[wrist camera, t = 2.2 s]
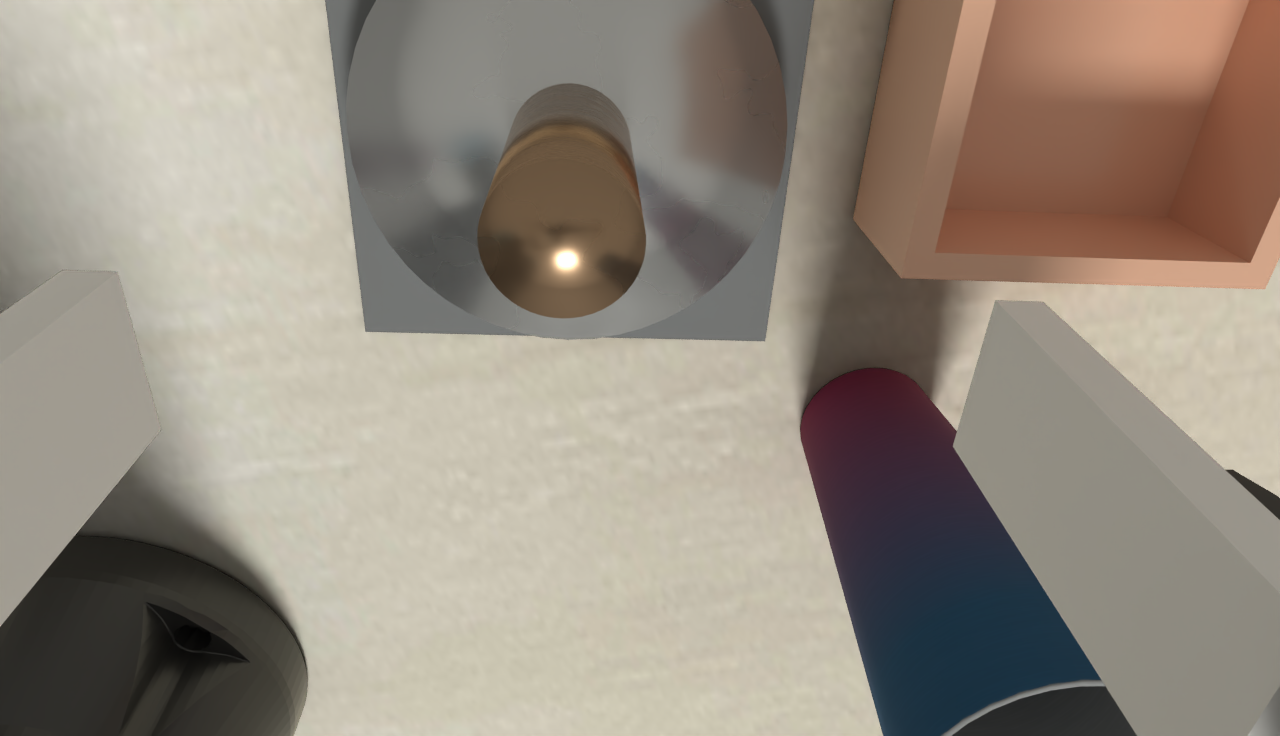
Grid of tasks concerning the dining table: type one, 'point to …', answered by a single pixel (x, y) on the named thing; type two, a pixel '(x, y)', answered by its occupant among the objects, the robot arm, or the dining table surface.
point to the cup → (939, 577)
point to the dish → (1077, 142)
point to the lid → (567, 152)
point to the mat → (717, 315)
